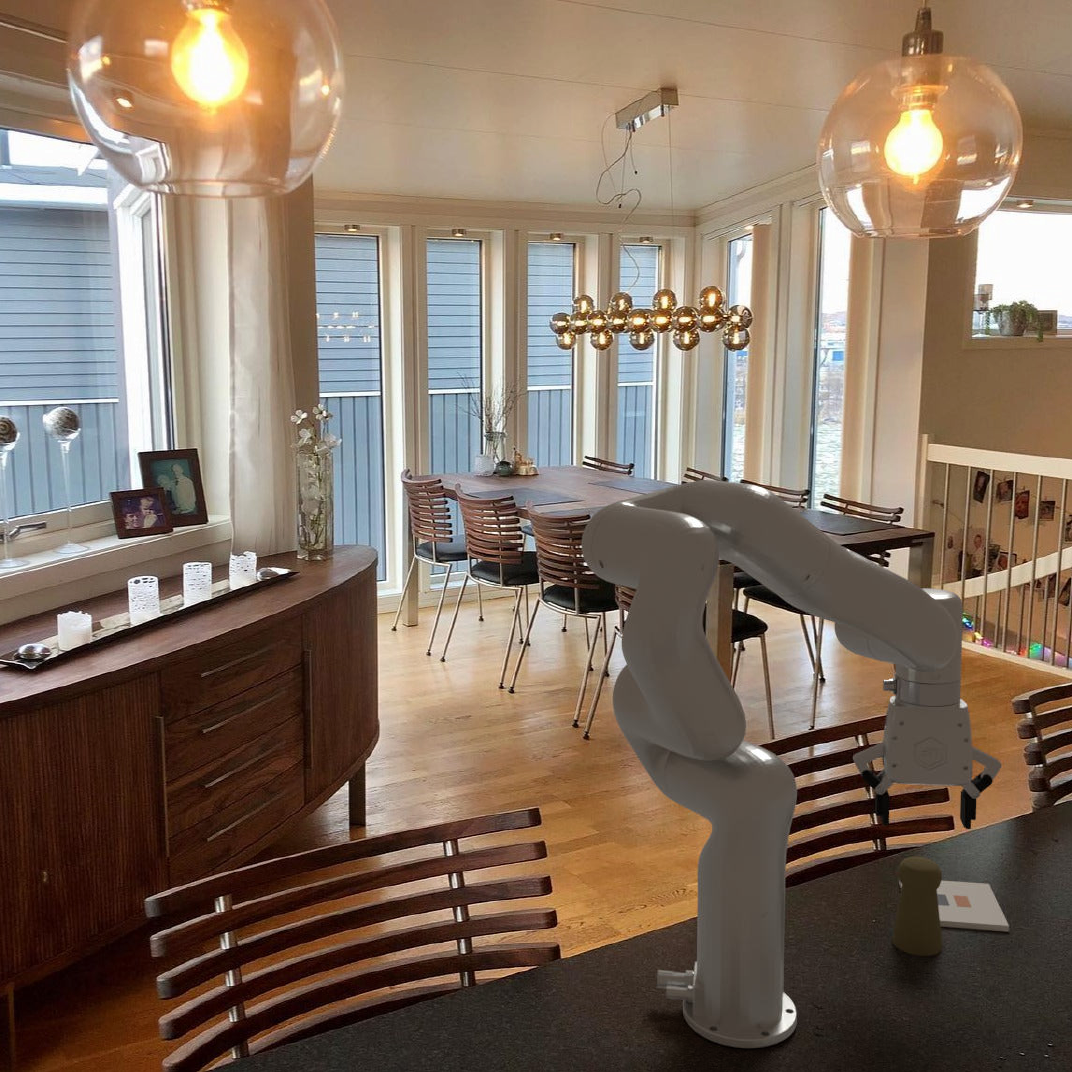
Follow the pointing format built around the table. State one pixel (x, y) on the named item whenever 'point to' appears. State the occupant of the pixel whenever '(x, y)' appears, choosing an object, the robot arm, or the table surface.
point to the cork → (918, 908)
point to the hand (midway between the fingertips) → (924, 822)
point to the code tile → (969, 906)
